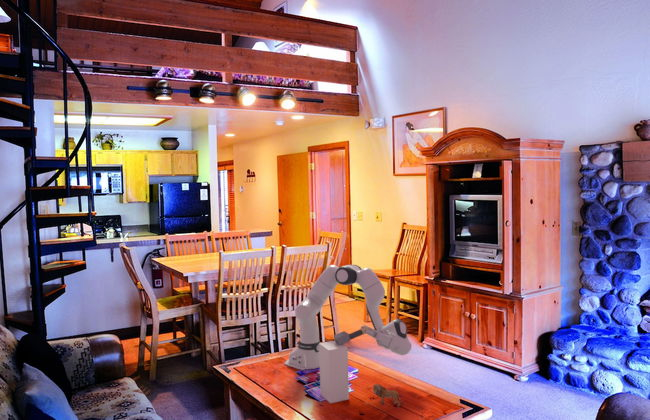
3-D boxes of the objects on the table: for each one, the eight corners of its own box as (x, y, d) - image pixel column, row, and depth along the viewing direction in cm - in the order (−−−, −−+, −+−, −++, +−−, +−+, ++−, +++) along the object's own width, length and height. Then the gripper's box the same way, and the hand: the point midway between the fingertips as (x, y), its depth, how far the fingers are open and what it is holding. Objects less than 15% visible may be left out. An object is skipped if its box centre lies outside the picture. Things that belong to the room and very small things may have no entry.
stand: (338, 390, 255) (337, 340, 253) (348, 399, 244) (347, 346, 242) (320, 394, 251) (318, 343, 249) (330, 403, 240) (328, 350, 238)
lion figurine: (372, 404, 237) (371, 386, 237) (374, 400, 242) (373, 381, 242) (403, 407, 233) (403, 388, 233) (404, 402, 238) (404, 384, 238)
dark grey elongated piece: (366, 329, 256) (364, 322, 255) (370, 332, 251) (369, 324, 251) (335, 342, 249) (333, 335, 249) (339, 345, 245) (337, 338, 244)
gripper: (377, 328, 268) (356, 318, 263) (397, 338, 249) (376, 328, 244) (372, 339, 267) (351, 329, 262) (392, 350, 248) (370, 340, 243)
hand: (363, 328), depth 252 cm, fingers closed on dark grey elongated piece, 3 cm apart
